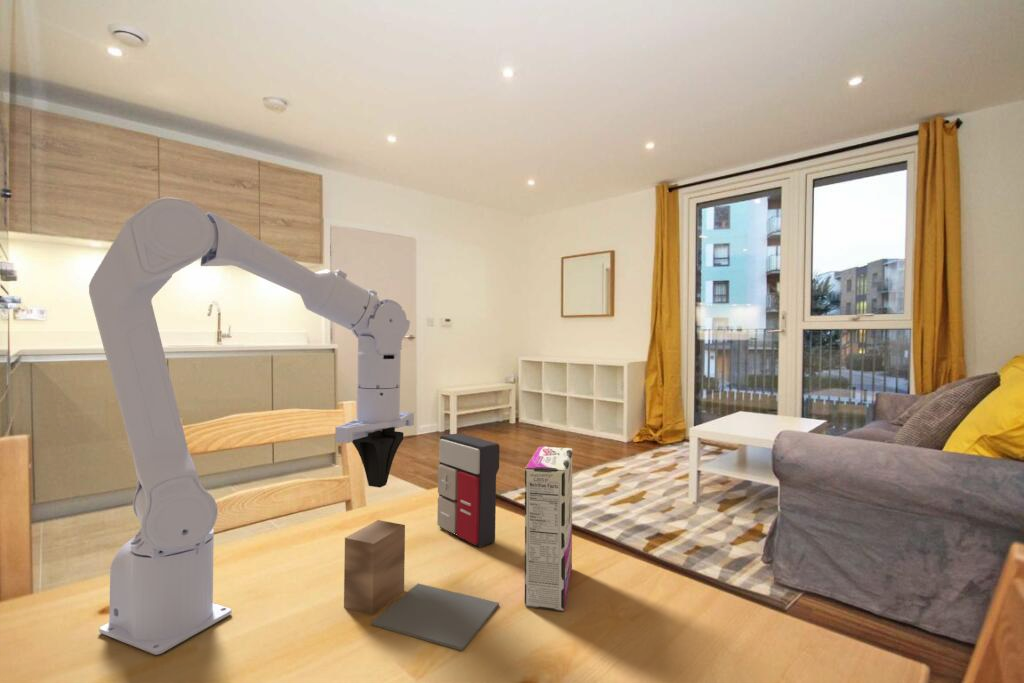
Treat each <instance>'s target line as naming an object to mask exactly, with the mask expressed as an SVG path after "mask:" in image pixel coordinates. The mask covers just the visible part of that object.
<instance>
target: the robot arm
mask: <svg viewBox="0 0 1024 683" xmlns="http://www.w3.org/2000/svg"><path fill="white" fill-rule="evenodd" d="M199 259H200V260H201V261H200V266H201V267H224V266H225V267H227V266H228V267H229V266H231V267H237V268H239V269H241V270H244V271H245V272H248V273H251V274H253V275H255V276H257V277H259V278H261V279H264V280H266V281H268V282H270V283H273V284H275V285H278V286H280V287H282V288H284V289H287V290H289V291H291V292H293V293H294V294H298V295H300V298H301V300H302V302H303V304H304V307H305V308H306V310H308V311H310V312H312V313H314V314H316V315H318V316H321V317H322V318H324V319H326V320H328V321H331V322H333V323H335V324H337V325H339V326H341V327H343V328H345V329H347V330H350V331H351V332H352V333H353V335H354V336H355V338H357V373H356V374H357V376H356V377H357V380H356V381H357V382H356V383H357V384H356V387H357V388H356V418H355V419H353V420H351V421H347V422H346V423H344V424H340V425H337V426H334V427H335V430H334V432H335V433H334V434H335V435H334V436H335V438H334V441H335V443H343V444H350V443H352V445H353V446H354V447H355V449H356V450H357V452H358V454H359V457H360V459H361V461H362V466H363V469H364V472H365V476H366V481H367V485H368V486H369V487H374V488H383V487H385V486H387V483H388V479H389V476H390V472H391V468H392V466H393V461H394V459H395V456H396V453H397V451H398V449H399V447H400V445H401V444H402V442H403V440H404V432H402V431H395V430H396V429H398V428H403V427H406V426H407V427H411V426H414V425H415V421H414V420H415V412H414V411H413V412H412V411H400V410H401V408H400V407H401V406H400V405H401V404H400V402H401V358H402V357H401V353H402V352H401V351H402V346H403V345H402V344H403V339H404V338H405V336H406V335H407V333H408V332H409V329H410V326H411V325H410V324H411V321H410V320H408V319H407V314H406V312H405V310H404V309H403V307H402V305H401V304H399V302H397V301H395V300H392V299H388V298H387V299H379V296H378V292H377V291H376V290H374V289H365V288H363V287H361V286H360V285H358V284H356V283H354V282H353V281H351V280H349V279H347V276H348V274H347V273H346V272H344V271H342V270H341V269H337V270H334V271H332V270H330V269H324V270H320V271H316V272H314V271H312V270H310V269H309V268H307V267H305V266H304V265H302V264H300V263H299V262H297V261H295V260H294V259H292V258H291V257H289V256H287V255H286V254H284V253H282V252H280V251H279V250H277V249H275V248H274V247H272V246H271V245H269V244H267V243H265V242H264V241H261V240H260V239H258V238H256V237H254V235H252V234H249V232H246V231H244V230H243V229H241V228H240V227H238V226H237V225H235V224H233V223H232V222H230V220H227V219H226V218H224V217H223V216H221V215H218V214H217V213H214V212H212V211H208V212H205V211H203V210H202V208H200V207H199V206H197V205H196V204H194V203H193V202H190V201H189V200H186V199H183V198H178V197H162V198H158V199H155V200H153V201H150V202H149V203H147V204H146V205H145V206H144V207H142V208H141V209H140V210H138V211H136V212H135V213H134V214H132V215H131V216H130V217H129V218H128V219H126V220H125V222H124V223H123V224H122V227H121V228H120V230H119V232H118V234H117V235H116V237H115V238H114V241H113V243H111V245H110V247H109V249H108V250H107V252H106V254H105V255H104V257H103V259H102V261H101V262H100V264H99V265H98V268H97V269H96V271H95V273H93V276H92V278H91V279H90V282H89V284H88V294H89V297H90V301H91V304H92V305H91V306H92V310H93V313H94V317H95V320H96V325H97V328H98V332H99V335H100V339H101V342H102V345H103V346H102V347H103V350H104V351H103V352H104V354H105V358H106V362H107V364H108V365H107V367H108V368H109V369H108V370H109V373H110V376H111V377H110V378H111V380H112V385H113V387H114V388H113V389H114V392H115V395H116V399H117V403H118V408H119V410H120V414H121V417H122V421H123V426H124V430H125V433H126V438H127V441H128V444H129V448H130V453H131V455H132V460H133V467H134V471H135V475H136V481H137V484H136V490H135V493H134V495H133V499H132V509H133V512H134V514H135V516H136V517H137V519H138V520H139V523H140V529H139V530H138V532H137V534H136V535H135V536H134V537H132V538H131V539H130V540H128V541H127V542H126V543H124V544H123V545H122V546H121V548H119V550H118V551H117V552H116V554H115V556H114V558H112V559H113V560H112V562H111V564H110V570H109V614H108V615H109V618H108V619H109V620H108V621H109V622H107V623H106V624H104V625H102V626H100V627H99V628H98V632H99V633H100V634H102V635H105V636H107V637H110V638H113V639H114V640H117V641H120V642H122V643H124V644H128V645H130V646H132V647H135V648H137V649H140V650H143V651H145V652H147V653H149V654H152V655H156V656H157V655H161V654H163V653H165V652H166V651H169V650H170V649H171V648H173V647H175V646H177V645H179V644H181V643H183V642H185V641H186V640H189V638H191V637H193V636H195V635H197V634H199V633H200V632H202V631H204V630H206V629H207V628H209V627H211V626H213V625H214V624H216V623H218V622H219V621H221V620H223V619H225V618H226V617H228V616H230V615H231V614H232V613H233V612H232V610H233V609H232V608H230V607H227V606H224V605H220V604H217V603H214V549H215V548H214V544H215V541H214V539H215V538H214V537H215V535H214V533H215V532H214V531H215V530H214V526H215V524H216V521H217V518H218V512H219V511H218V505H217V504H218V503H217V501H216V499H215V498H214V497H213V495H212V494H211V493H210V492H208V491H207V490H206V489H205V488H204V487H203V485H202V484H201V482H200V479H199V474H198V471H197V469H196V468H197V467H196V466H195V463H194V460H193V459H192V456H191V453H190V450H189V448H188V445H187V444H188V443H187V440H186V434H185V431H184V427H183V424H182V418H181V416H180V412H179V407H178V403H177V398H176V396H175V391H174V388H173V383H172V380H171V375H170V372H169V367H168V363H167V359H166V355H165V352H164V347H163V343H162V340H161V335H160V332H159V327H158V322H157V320H156V316H155V310H154V306H153V302H152V301H153V298H154V297H155V296H156V294H158V292H159V291H160V290H161V289H162V288H163V287H164V286H165V285H166V284H167V283H168V282H169V281H170V279H171V278H173V275H174V274H175V273H177V272H179V271H180V270H182V269H184V268H187V266H189V265H191V264H193V263H195V262H196V261H198V260H199Z"/></svg>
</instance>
